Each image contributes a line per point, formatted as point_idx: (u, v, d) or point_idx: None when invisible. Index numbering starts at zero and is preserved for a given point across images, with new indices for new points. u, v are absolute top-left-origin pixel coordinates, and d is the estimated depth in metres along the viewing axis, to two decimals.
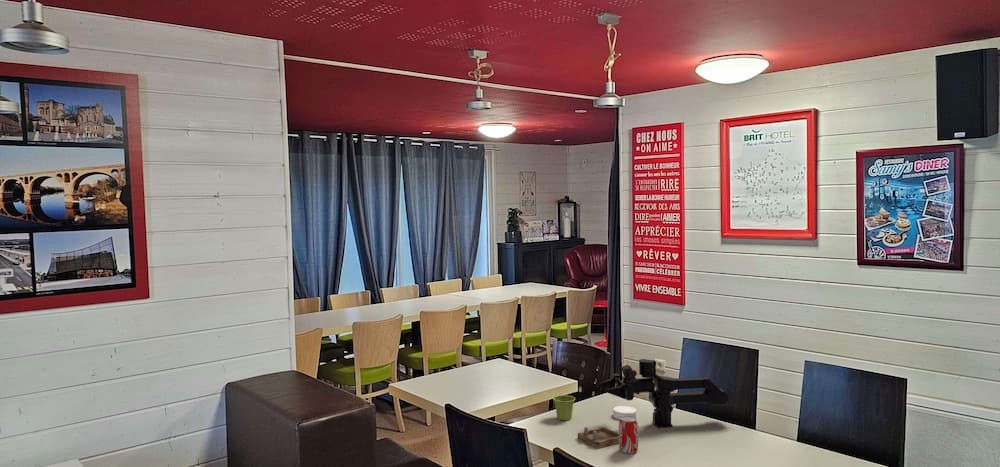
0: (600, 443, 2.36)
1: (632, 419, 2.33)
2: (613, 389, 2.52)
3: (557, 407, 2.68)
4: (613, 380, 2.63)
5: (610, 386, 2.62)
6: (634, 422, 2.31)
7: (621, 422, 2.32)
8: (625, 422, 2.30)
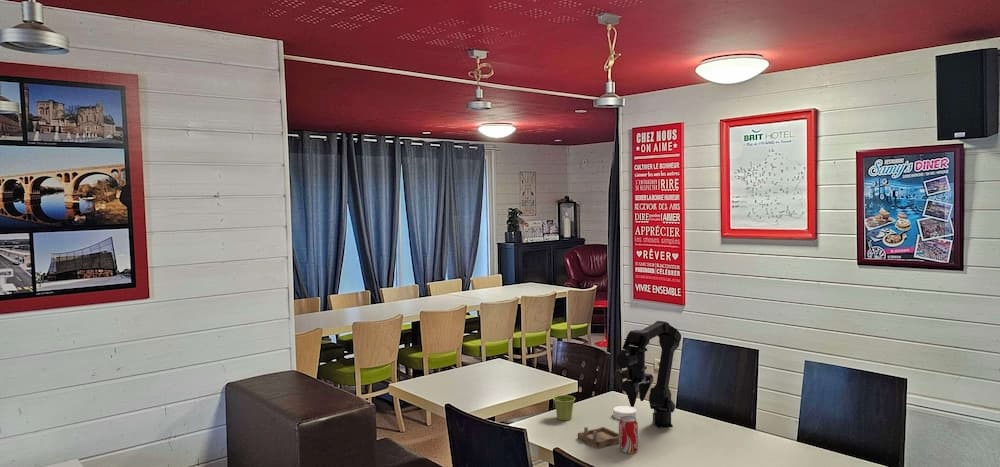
0: (600, 443, 2.36)
1: (632, 419, 2.33)
2: (629, 399, 2.42)
3: (557, 407, 2.68)
4: (639, 384, 2.51)
5: (644, 389, 2.50)
6: (634, 422, 2.31)
7: (621, 422, 2.32)
8: (625, 422, 2.30)
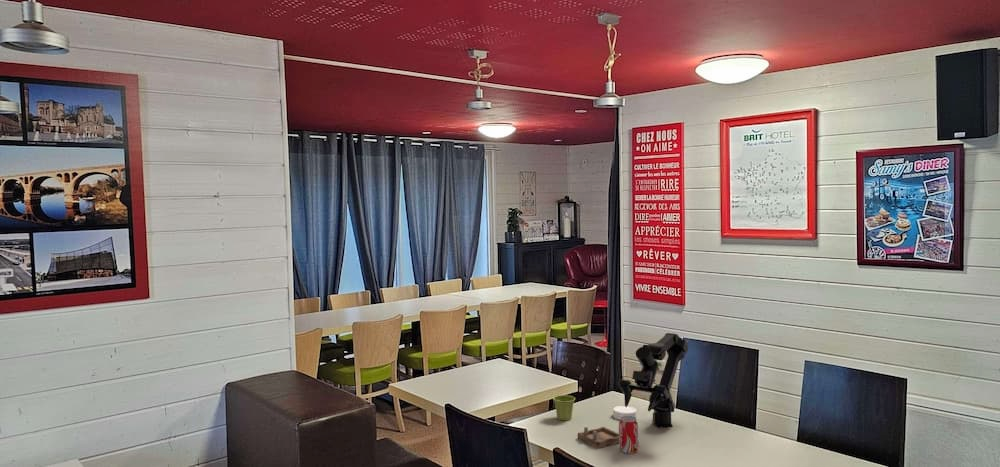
0: (600, 443, 2.36)
1: (632, 419, 2.33)
2: (652, 403, 2.37)
3: (557, 407, 2.68)
4: (628, 390, 2.45)
5: (629, 397, 2.46)
6: (634, 422, 2.31)
7: (621, 422, 2.32)
8: (625, 422, 2.30)
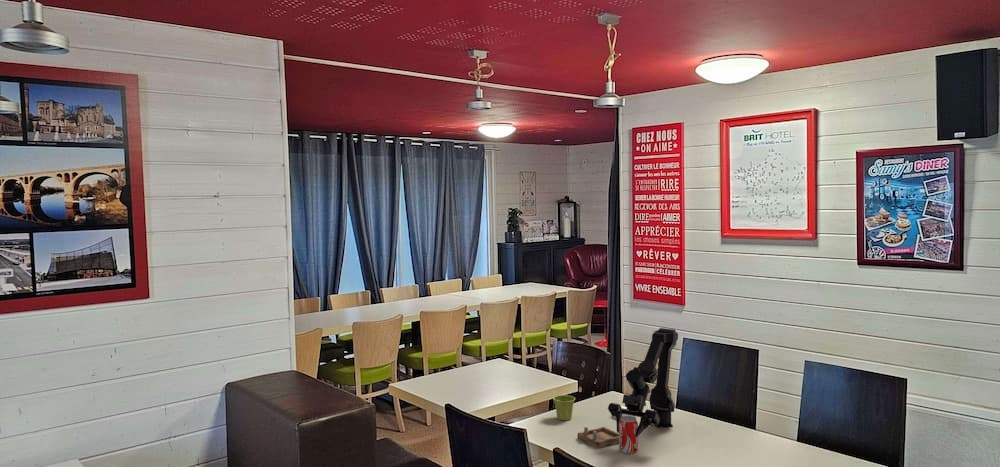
0: (600, 443, 2.36)
1: (632, 419, 2.33)
2: (640, 428, 2.30)
3: (557, 407, 2.68)
4: (620, 415, 2.37)
5: None
6: (634, 422, 2.31)
7: (621, 422, 2.32)
8: (625, 422, 2.30)
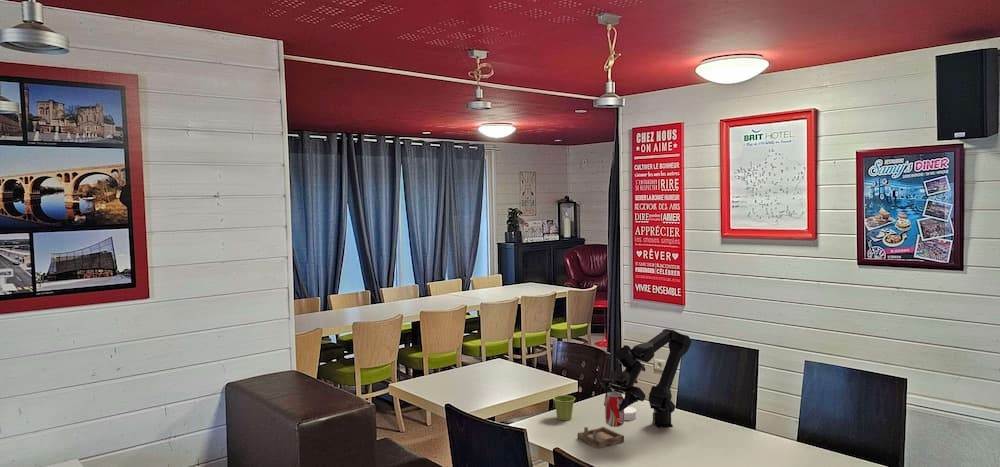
0: (600, 443, 2.36)
1: (618, 395, 2.41)
2: (624, 403, 2.39)
3: (557, 407, 2.68)
4: (609, 390, 2.47)
5: None
6: (618, 397, 2.39)
7: (606, 397, 2.42)
8: (609, 397, 2.40)
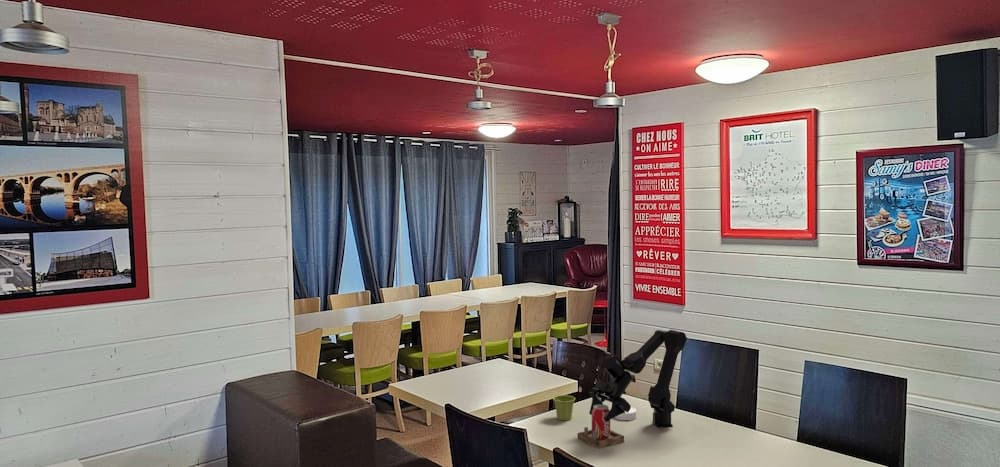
0: (600, 443, 2.36)
1: (604, 407, 2.43)
2: (610, 414, 2.39)
3: (557, 407, 2.68)
4: (596, 399, 2.49)
5: None
6: (603, 410, 2.41)
7: (593, 409, 2.44)
8: (595, 409, 2.42)
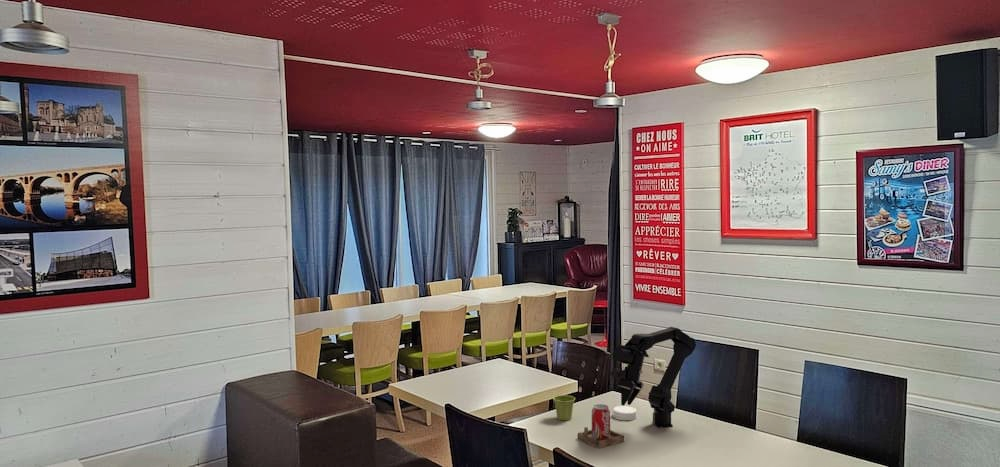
0: (600, 443, 2.36)
1: (604, 407, 2.43)
2: (622, 397, 2.46)
3: (557, 407, 2.68)
4: None
5: (634, 393, 2.55)
6: (603, 410, 2.41)
7: (592, 409, 2.44)
8: (595, 409, 2.42)
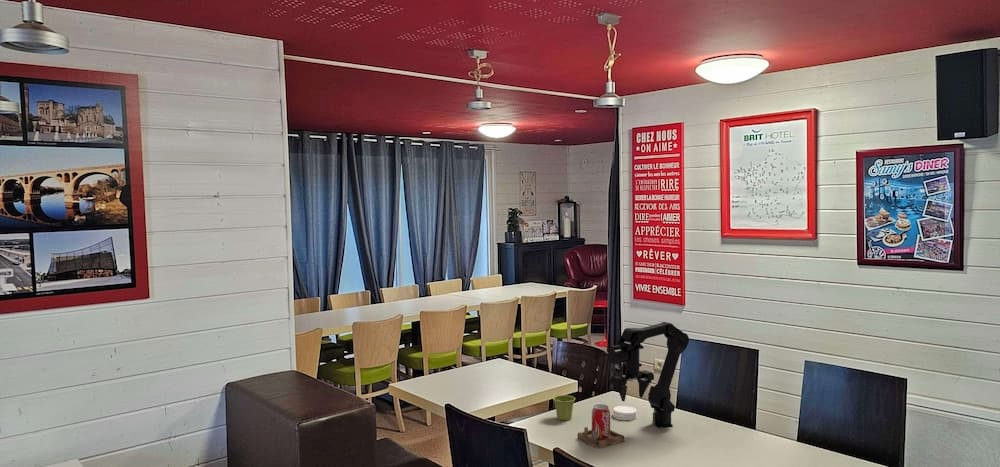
0: (600, 443, 2.36)
1: (604, 407, 2.43)
2: (620, 394, 2.50)
3: (557, 407, 2.68)
4: (639, 381, 2.56)
5: (643, 386, 2.54)
6: (603, 410, 2.41)
7: (593, 409, 2.44)
8: (595, 409, 2.42)
